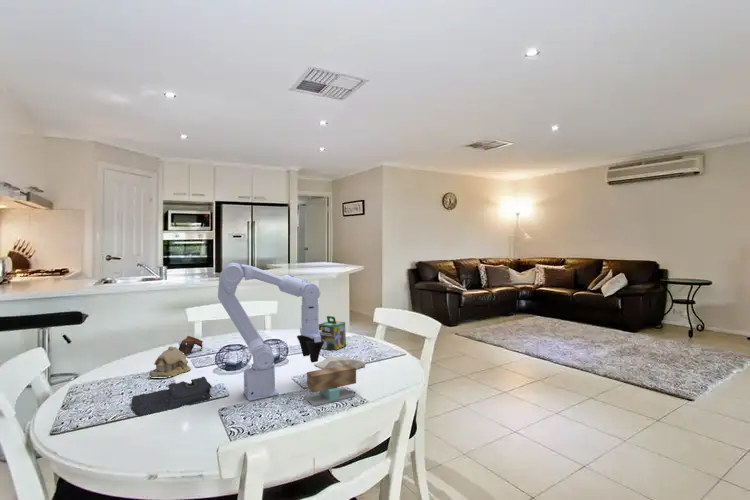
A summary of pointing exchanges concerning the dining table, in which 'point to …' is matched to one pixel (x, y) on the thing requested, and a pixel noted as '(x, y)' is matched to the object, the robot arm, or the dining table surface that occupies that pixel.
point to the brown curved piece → (189, 344)
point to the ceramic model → (170, 363)
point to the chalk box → (333, 334)
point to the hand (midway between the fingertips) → (310, 358)
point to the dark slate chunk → (172, 397)
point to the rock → (339, 362)
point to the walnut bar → (331, 378)
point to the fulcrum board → (322, 399)
